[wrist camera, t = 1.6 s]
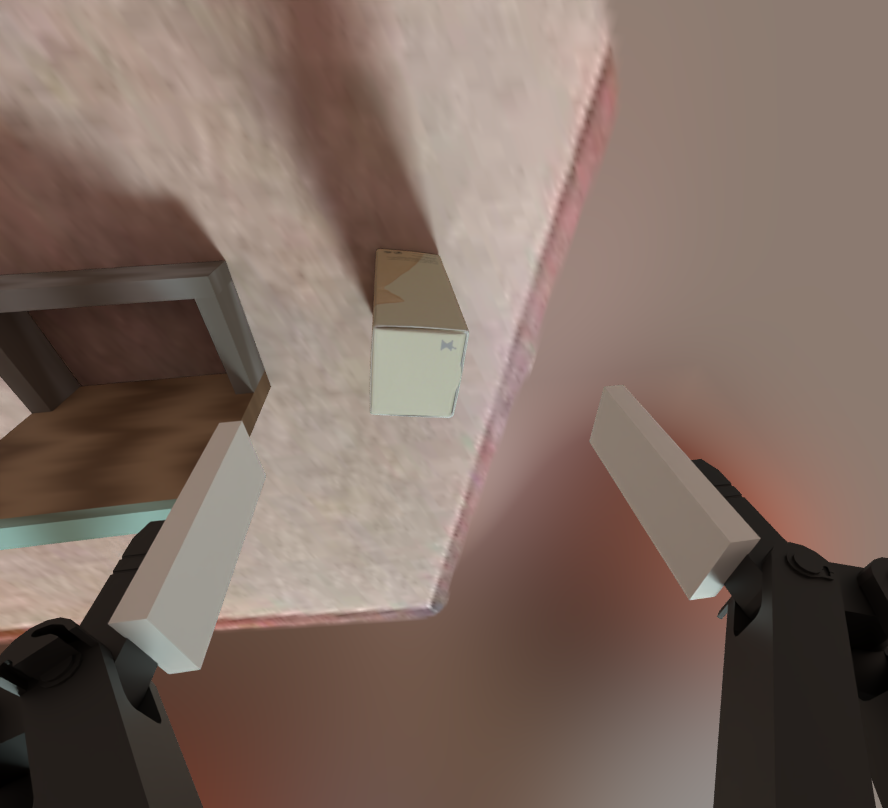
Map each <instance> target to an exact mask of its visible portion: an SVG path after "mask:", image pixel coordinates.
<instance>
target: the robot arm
mask: <svg viewBox="0 0 888 808" xmlns="http://www.w3.org/2000/svg"><path fill="white" fill-rule="evenodd" d="M589 442H590V443H591V445H592V446H593V448H594V449H595V451H596V453H597V454H598V456H599V457H600V459H601V461H602V462H603V464H604V465H605V467H606V469H607V470H608V472H609V473H610V475H611V476H612V478H613V480H614V481H615V483H616V484H617V486H618V487H619V489H620V490H621V492H622V494H623V495H624V497H625V499H626V500H627V502H628V504H629V505H630V507H631V508H632V510H633V511H634V513H635V515H636V516H637V518H638V519H639V521H640V522H641V524H642V526H643V527H644V529H645V530H646V532H647V534H648V535H649V537H650V538H651V540H652V542H653V543H654V545H655V546H656V548H657V550H658V551H659V553H660V554H661V556H662V557H663V559H664V561H665V562H666V564H667V565H668V567H669V569H670V570H671V572H672V573H673V575H674V577H675V578H676V580H677V581H678V583H679V585H680V586H681V588H682V589H683V591H684V592H685V594H686V596H687V597H688V599H689V600H694V599H701V598H708V597H715V596H716V595H717V593H718V592H719V591H720V590H721V588H722V587H723V586H725V587H726V588H727V590H728V591H729V592H730V594H731V595H732V596H731V598H730V599H729V600H728V601H727V602H726V604H725V605H724V606H723V607H722V608H721V610H720V611H719V613H718V616H717V617H718V618H720V619H722V618H723V617H724V616H725V615H726V614H727V627H726V640H725V654H724V668H723V681H722V695H721V709H720V710H721V711H720V723H719V736H718V750H717V764H716V778H715V791H714V805H713V808H876V806H875V799H874V793H873V787H872V781H873V784H874V786H875V789H876V792H877V794H878V797H879V799H880V802H881V805H882V807H883V808H888V558H883V557H881V558H878V559H875V560H873V561H872V562H871V563H869V564H868V565H867V566H866V567H865V568H861V567H855V566H848V565H843V564H837V563H831V562H828V561H827V560H826V559H824V558H823V557H822V556H820V555H819V554H818V553H816V552H815V551H813V550H811V549H809V548H807V547H805V546H803V545H799V544H795V543H791V542H787V541H786V540H785V539H783V538H782V537H781V536H780V534H779V533H778V532H777V531H776V530H775V529H774V528H773V527H772V526H771V525H770V524H769V523H768V522H767V521H766V520H765V519H764V518H763V517H762V515H761V514H759V512H758V511H757V510H756V509H755V508H754V507H753V506H752V505H751V504H750V503H749V502H748V501H747V500H746V499H745V498H744V497H742V496H741V495H742V494H741V493H740V492H739V491H738V490H737V489H736V488H735V487H734V486H732V485H731V483H730V482H729V481H728V480H727V479H726V477H724V475H723V474H722V473H721V472H720V471H719V470H718V469H716V468H714V467H713V466H711V465H710V464H708V463H706V462H705V461H704V460H702V459H698V460H690V459H689V458H688V457H687V456H686V454H685V453H684V452H683V451H682V450H681V449H680V448H679V447H678V446H677V444H676V443H675V442H674V441H673V440H672V439H671V438H670V437H669V435H668V434H667V433H666V432H665V431H664V430H663V429H662V428H661V426H660V425H659V424H658V423H657V422H656V421H655V420H654V419H653V417H652V416H651V415H650V414H649V413H648V412H647V411H646V410H645V409H644V407H643V406H641V404H640V403H639V402H638V401H637V400H636V398H635V397H634V396H633V395H632V394H631V393H630V392H629V391H628V389H627V388H626V387H625V386H624V385H618V386H607V387H604V389H603V392H602V396H601V400H600V404H599V408H598V411H597V415H596V419H595V423H594V426H593V430H592V434H591V437H590V441H589ZM265 478H266V474H265V471H264V469H263V467H262V465H261V462H260V460H259V458H258V456H257V453H256V451H255V449H254V447H253V444H252V442H251V440H250V438H249V435H248V433H247V431H246V428H245V426H244V424H243V422H242V421H235V422H224V423H219V424H218V426H217V428H216V430H215V431H214V433H213V435H212V437H211V439H210V441H209V442H208V444H207V446H206V448H205V450H204V451H203V453H202V455H201V457H200V459H199V460H198V462H197V464H196V466H195V468H194V469H193V471H192V473H191V475H190V477H189V478H188V480H187V482H186V484H185V486H184V487H183V489H182V491H181V493H180V495H179V496H178V498H177V500H176V502H175V504H174V505H173V507H172V509H171V511H170V513H169V514H168V516H167V518H166V520H159V521H151V522H149V523H148V524H147V525H146V526H145V527H144V528H143V529H142V530H141V531H140V532H139V533H138V534H137V535H136V536H135V537H134V538H133V539H132V541H131V542H130V544H129V545H128V547H127V549H126V550H125V552H124V554H123V555H122V560H119V562H118V564H117V565H116V567H115V569H114V570H113V575H110V577H109V578H108V580H107V582H106V583H105V585H104V587H103V588H102V590H101V592H100V593H99V595H98V596H97V598H96V600H95V601H94V603H93V605H92V606H91V608H90V610H89V611H88V613H87V615H86V616H85V618H84V619H83V621H82V623H81V624H80V626H79V625H78V624H76V623H75V622H74V621H72V620H71V619H66V618H61V617H60V618H56V619H51V620H47V621H45V622H42V623H40V624H38V625H36V626H34V627H32V628H30V629H29V630H28V631H26V632H25V633H23V634H22V635H21V636H19V637H18V638H17V639H15V640H14V641H13V642H12V643H11V644H10V645H9V646H8V647H7V648H6V649H5V650H4V651H3V653H2V654H1V655H0V808H203V806H202V804H201V801H200V798H199V796H198V793H197V791H196V788H195V786H194V783H193V781H192V778H191V775H190V773H189V770H188V768H187V765H186V762H185V760H184V757H183V755H182V752H181V750H180V747H179V744H178V742H177V739H176V737H175V734H174V732H173V729H172V726H171V724H170V721H169V719H168V716H167V714H166V711H165V709H164V706H163V703H162V701H161V699H160V696H159V693H158V690H157V688H156V686H155V685H154V683H153V682H152V681H151V680H152V677H153V675H154V672H155V670H156V668H157V665H158V666H159V667H161V668H162V669H163V670H164V671H166V672H167V673H168V674H172V673H179V672H187V671H193V670H200V669H201V666H202V663H203V660H204V657H205V654H206V651H207V648H208V645H209V642H210V640H211V636H212V634H213V631H214V628H215V625H216V622H217V619H218V616H219V613H220V610H221V607H222V604H223V601H224V598H225V595H226V592H227V590H228V587H229V584H230V581H231V578H232V575H233V572H234V569H235V566H236V563H237V560H238V557H239V554H240V551H241V548H242V545H243V542H244V540H245V537H246V534H247V531H248V528H249V525H250V522H251V519H252V516H253V513H254V510H255V507H256V504H257V501H258V498H259V495H260V492H261V490H262V487H263V484H264V481H265ZM871 779H872V780H871Z"/></svg>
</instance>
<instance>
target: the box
mask: <svg viewBox="0 0 888 808" xmlns="http://www.w3.org/2000/svg"><path fill="white" fill-rule="evenodd" d="M468 337H469V331H468V328H467V325H466V322H465V320H464V317H463V315H462V312H461V310H460V307H459V304H458V302H457V299H456V297H455V294H454V291H453V289H452V286H451V283H450V281H449V278H448V276H447V273H446V271H445V268H444V266H443V263H442V261H441V258H440V256H439V255H434V254H427V253H420V252H411V251H402V250H388V249H377V250H376V260H375V281H374V303H373V325H372V344H371V362H370V413H371V414H374V415H391V416H409V417H432V418H451V417H452V416H453V415H454V411H455V406H456V402H457V397H458V392H459V387H460V382H461V376H462V371H463V365H464V360H465V354H466V348H467V342H468Z"/></svg>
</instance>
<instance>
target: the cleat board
mask: <svg viewBox="0 0 888 808" xmlns="http://www.w3.org/2000/svg"><path fill="white" fill-rule="evenodd" d="M183 299H195V301H196V304H197V306H198V308H199V311H200V313H201V315H202V317H203V320H204V322H205V324H206V327H207V329H208V331H209V334H210V336H211V338H212V341H213V343H214V345H215V347H216V350H217V352H218V354H219V357H220V359H221V361H222V364H223V366H224V368H225V371H226V373H224V374H213V375H202V376H191V377H179V378H168V379H157V380H145V381H134V382H123V383H112V384H100V385H89V386H80V385H79V383H78V382H77V380H76V379H75V378H74V376H73V375H72V373H71V372H70V371H69V369H68V368H67V366H66V365H65V364H64V362H63V361H62V360H61V358H60V357H59V355H58V354H57V353H56V351H55V350H54V348H53V347H52V346H51V344H50V343H49V341H48V340H47V339H46V337H45V336H44V334H43V333H42V332H41V330H40V329H39V328H38V326H37V325H36V323H35V322H34V321H33V319H32V318H31V316H30V315H29V314H28V312H27V311H31V310H45V309H59V308H73V307H86V306H100V305H114V304H128V303H142V302H156V301H169V300H183ZM0 376H1V378H2V379H3V380H4V381H5V382H6V383H7V385H8V386H9V387H10V388H11V389H12V391H13V392H14V393H15V394H16V395H17V396H18V398H19V399H20V400H21V401H22V402H23V403H24V405H25V406H26V407H27V408H28V409H29V410H30V412H31V413H32V414H31V415H30V416H28V417H27V418H26V419H25V420H24V421H23V422H21V423H20V424H19V425H18V426H17V427H15V428H14V429H13V430H12V431H11V432H9V433H8V434H7V435H6V436H5V437H3V438H2V439H1V440H0V550H4V549H12V548H21V547H29V546H37V545H46V544H54V543H62V542H70V541H79V540H87V539H95V538H103V537H112V536H120V535H128V534H136V533H139V532H140V531H141V530H142V529H143V528H144V527H145V526H146V525H147V524H148V523H149V522H151V521H159V520H166V518H167V516H168V514H169V513H170V511H171V509H172V507H173V505H174V504H175V502H176V500H177V498H178V496H179V495H180V493H181V491H182V489H183V487H184V486H185V484H186V482H187V480H188V478H189V477H190V475H191V473H192V471H193V469H194V468H195V466H196V464H197V462H198V460H199V459H200V457H201V455H202V453H203V451H204V450H205V448H206V446H207V444H208V442H209V441H210V439H211V437H212V435H213V433H214V431H215V430H216V428H217V426H218V424H219V423H224V422H235V421H242V422H243V424H244V426H245V428H246V431H247V433H248V435H249V437H250V435H251V433H252V430H253V428H254V425H255V423H256V421H257V418H258V416H259V414H260V411H261V409H262V406H263V404H264V402H265V399H266V397H267V394H268V392H269V390H270V387H271V386H270V383H269V380H268V377H267V375H266V372H265V369H264V366H263V364H262V361H261V358H260V355H259V352H258V350H257V347H256V344H255V341H254V339H253V336H252V333H251V330H250V328H249V325H248V322H247V319H246V316H245V314H244V311H243V308H242V305H241V303H240V300H239V297H238V294H237V291H236V289H235V286H234V283H233V280H232V278H231V275H230V272H229V269H228V267H227V264H226V261H213V262H197V263H182V264H166V265H151V266H135V267H120V268H104V269H89V270H73V271H58V272H42V273H27V274H11V275H0Z"/></svg>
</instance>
